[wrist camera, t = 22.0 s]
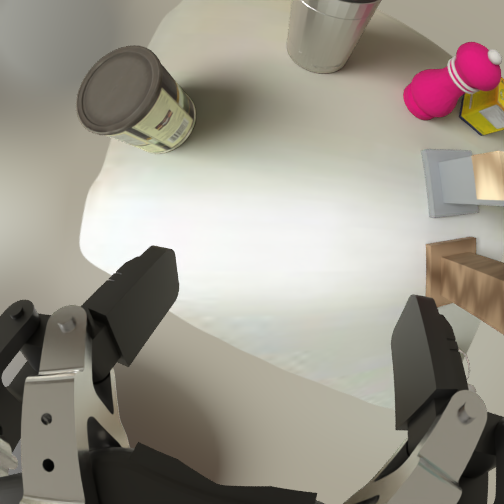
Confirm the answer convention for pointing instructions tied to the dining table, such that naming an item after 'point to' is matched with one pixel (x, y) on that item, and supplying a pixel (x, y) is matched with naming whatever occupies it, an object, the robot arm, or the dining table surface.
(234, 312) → the dining table surface
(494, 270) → the walnut stand
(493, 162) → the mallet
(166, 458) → the robot arm
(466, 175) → the slate pedestal
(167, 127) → the coffee can
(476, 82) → the pepper mill
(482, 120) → the supplement box
